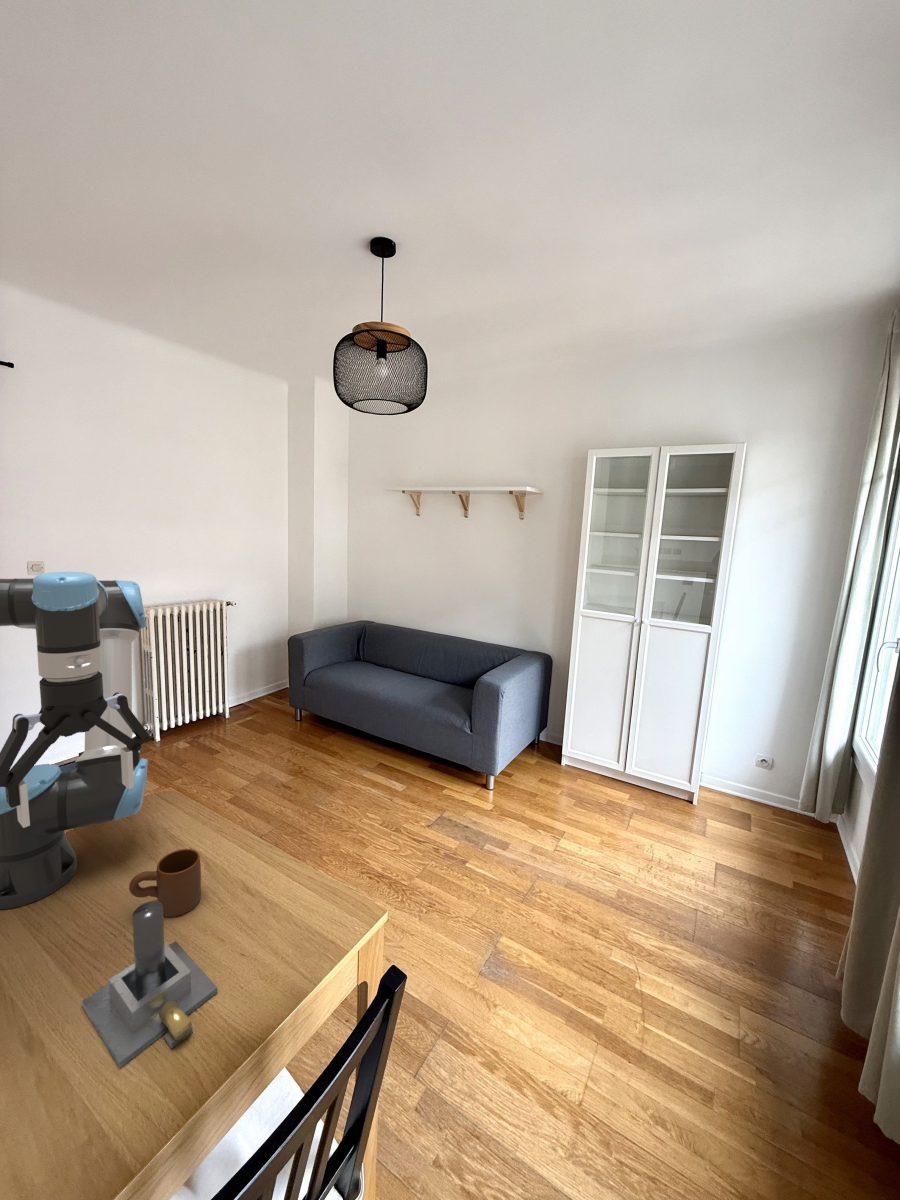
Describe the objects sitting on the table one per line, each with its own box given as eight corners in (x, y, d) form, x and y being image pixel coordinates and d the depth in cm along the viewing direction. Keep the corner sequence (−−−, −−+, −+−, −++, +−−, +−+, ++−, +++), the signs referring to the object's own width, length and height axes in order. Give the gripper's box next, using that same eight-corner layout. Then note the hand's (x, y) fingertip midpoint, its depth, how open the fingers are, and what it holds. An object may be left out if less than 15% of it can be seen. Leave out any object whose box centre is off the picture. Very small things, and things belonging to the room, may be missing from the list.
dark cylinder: (134, 1010, 73) (129, 924, 71) (139, 986, 77) (134, 904, 75) (164, 1000, 75) (160, 917, 73) (167, 978, 79) (164, 898, 76)
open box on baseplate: (82, 1006, 74) (80, 981, 74) (175, 945, 86) (175, 923, 85) (130, 1086, 64) (129, 1058, 64) (229, 1005, 76) (228, 981, 75)
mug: (131, 935, 87) (128, 889, 86) (130, 906, 93) (128, 863, 92) (203, 908, 94) (203, 865, 93) (198, 883, 100) (197, 843, 99)
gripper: (-39, 702, 60) (-24, 854, 63) (170, 663, 80) (173, 780, 83) (-52, 688, 64) (-37, 831, 67) (149, 654, 84) (153, 765, 88)
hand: (79, 803), depth 75 cm, fingers open, 13 cm apart
